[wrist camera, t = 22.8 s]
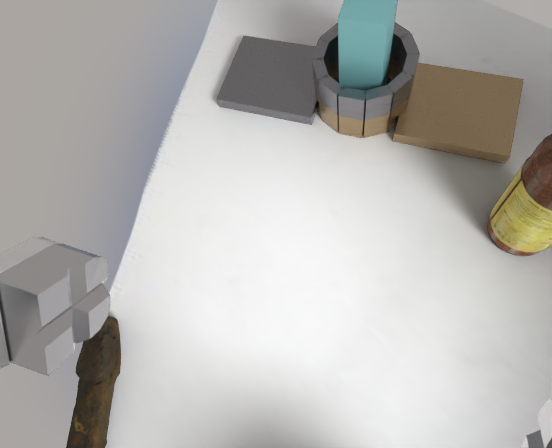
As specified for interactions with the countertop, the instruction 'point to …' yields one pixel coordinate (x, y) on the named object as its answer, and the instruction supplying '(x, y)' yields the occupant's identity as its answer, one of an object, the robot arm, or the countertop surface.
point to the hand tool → (95, 387)
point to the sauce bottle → (526, 206)
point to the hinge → (377, 96)
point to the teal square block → (365, 42)
